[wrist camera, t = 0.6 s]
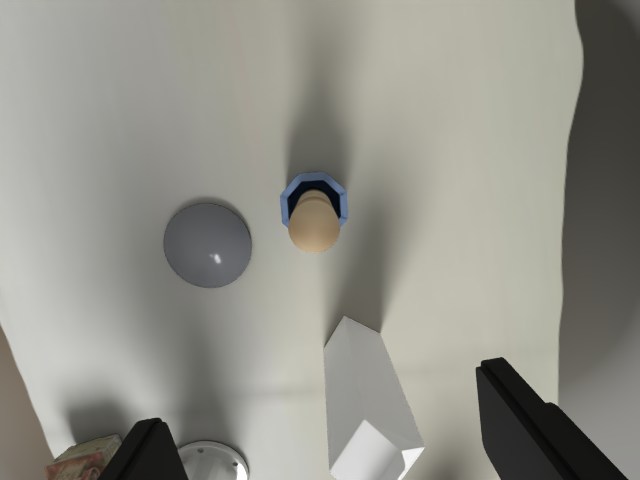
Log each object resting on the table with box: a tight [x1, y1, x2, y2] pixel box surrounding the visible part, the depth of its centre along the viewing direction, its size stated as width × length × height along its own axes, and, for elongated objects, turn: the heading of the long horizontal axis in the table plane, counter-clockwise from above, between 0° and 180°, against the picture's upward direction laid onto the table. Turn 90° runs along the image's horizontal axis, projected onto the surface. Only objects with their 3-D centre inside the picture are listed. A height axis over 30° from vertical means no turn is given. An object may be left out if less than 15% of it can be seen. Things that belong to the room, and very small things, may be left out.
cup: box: [280, 172, 348, 227], centre depth 38 cm, size 7×7×7 cm
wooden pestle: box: [288, 187, 340, 253], centre depth 31 cm, size 4×4×18 cm
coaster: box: [164, 204, 252, 288], centre depth 42 cm, size 11×11×1 cm
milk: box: [323, 316, 425, 480], centre depth 35 cm, size 6×6×22 cm
